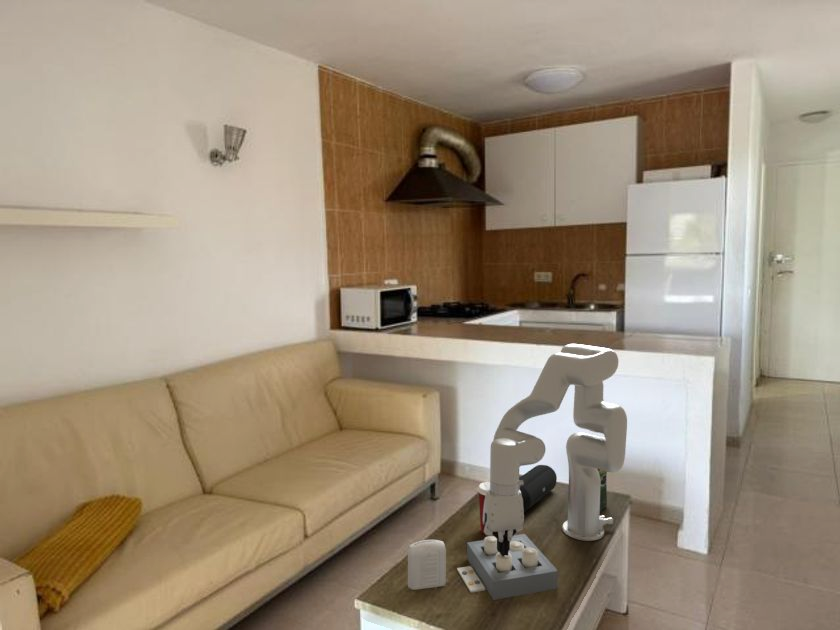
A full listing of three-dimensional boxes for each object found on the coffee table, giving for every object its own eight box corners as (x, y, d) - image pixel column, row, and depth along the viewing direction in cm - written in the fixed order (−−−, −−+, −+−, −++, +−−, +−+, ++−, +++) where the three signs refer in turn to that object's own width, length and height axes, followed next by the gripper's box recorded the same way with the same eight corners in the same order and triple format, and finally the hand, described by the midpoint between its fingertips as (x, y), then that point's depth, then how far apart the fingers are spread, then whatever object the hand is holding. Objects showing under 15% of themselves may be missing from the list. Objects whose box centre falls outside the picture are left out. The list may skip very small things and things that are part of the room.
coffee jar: (589, 499, 202) (590, 448, 200) (610, 506, 196) (611, 454, 194) (574, 508, 195) (576, 456, 193) (596, 515, 190) (597, 462, 187)
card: (470, 567, 160) (470, 565, 160) (485, 590, 149) (485, 587, 149) (457, 569, 159) (457, 567, 159) (470, 592, 148) (470, 590, 148)
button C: (495, 550, 162) (495, 534, 161) (501, 558, 158) (501, 541, 157) (481, 553, 161) (481, 536, 160) (487, 560, 157) (487, 544, 156)
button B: (533, 562, 156) (533, 545, 155) (540, 571, 152) (540, 553, 151) (519, 565, 155) (519, 548, 154) (525, 573, 151) (526, 556, 150)
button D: (507, 566, 154) (508, 549, 153) (514, 575, 150) (514, 558, 149) (493, 569, 153) (493, 552, 152) (499, 578, 149) (499, 560, 148)
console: (524, 549, 169) (524, 533, 168) (557, 588, 149) (557, 570, 149) (466, 558, 164) (467, 542, 163) (493, 600, 145) (493, 581, 144)
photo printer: (443, 577, 155) (443, 534, 153) (447, 586, 151) (447, 542, 149) (406, 583, 153) (405, 539, 151) (409, 592, 149) (409, 547, 147)
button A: (519, 555, 164) (520, 539, 164) (526, 563, 160) (526, 547, 160) (506, 557, 163) (506, 541, 163) (512, 565, 159) (512, 549, 159)
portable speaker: (527, 519, 188) (527, 490, 187) (500, 511, 194) (500, 483, 193) (558, 492, 208) (559, 465, 207) (533, 485, 214) (534, 460, 213)
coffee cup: (502, 539, 175) (503, 492, 173) (476, 536, 176) (476, 490, 175) (504, 526, 183) (504, 481, 181) (478, 523, 185) (478, 479, 183)
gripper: (524, 478, 154) (523, 542, 156) (472, 484, 150) (471, 550, 152) (537, 489, 147) (535, 556, 149) (482, 495, 143) (481, 564, 145)
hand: (503, 553), depth 150 cm, fingers closed
